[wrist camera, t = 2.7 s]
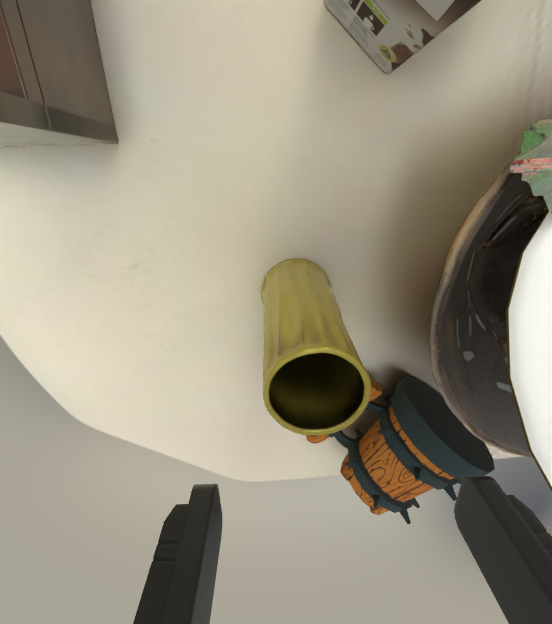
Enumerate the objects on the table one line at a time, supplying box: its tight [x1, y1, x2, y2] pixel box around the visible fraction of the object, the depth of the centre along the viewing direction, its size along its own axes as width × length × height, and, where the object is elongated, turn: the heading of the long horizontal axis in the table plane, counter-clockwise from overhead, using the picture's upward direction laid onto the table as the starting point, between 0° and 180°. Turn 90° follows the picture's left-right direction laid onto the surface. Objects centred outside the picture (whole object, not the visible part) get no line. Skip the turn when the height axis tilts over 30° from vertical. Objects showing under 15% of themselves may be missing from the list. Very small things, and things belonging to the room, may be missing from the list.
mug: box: [306, 377, 494, 524], centre depth 31 cm, size 13×10×12 cm
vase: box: [261, 259, 371, 435], centre depth 22 cm, size 6×6×14 cm
